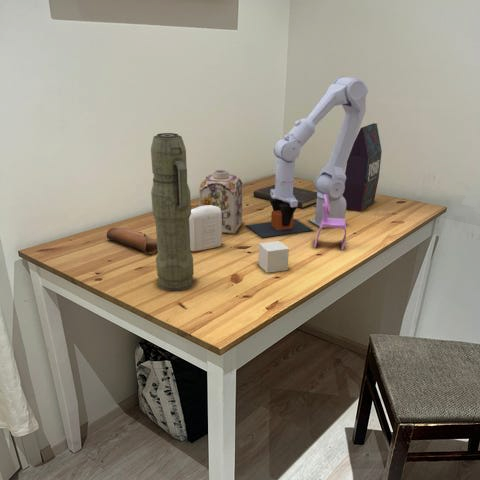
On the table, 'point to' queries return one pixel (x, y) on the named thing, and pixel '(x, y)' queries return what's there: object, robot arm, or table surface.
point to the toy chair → (330, 221)
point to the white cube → (273, 256)
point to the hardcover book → (301, 195)
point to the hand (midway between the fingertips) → (282, 223)
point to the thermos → (171, 212)
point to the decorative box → (363, 169)
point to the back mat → (268, 231)
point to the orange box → (279, 221)
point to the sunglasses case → (133, 239)
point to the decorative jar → (223, 198)
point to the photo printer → (205, 227)
